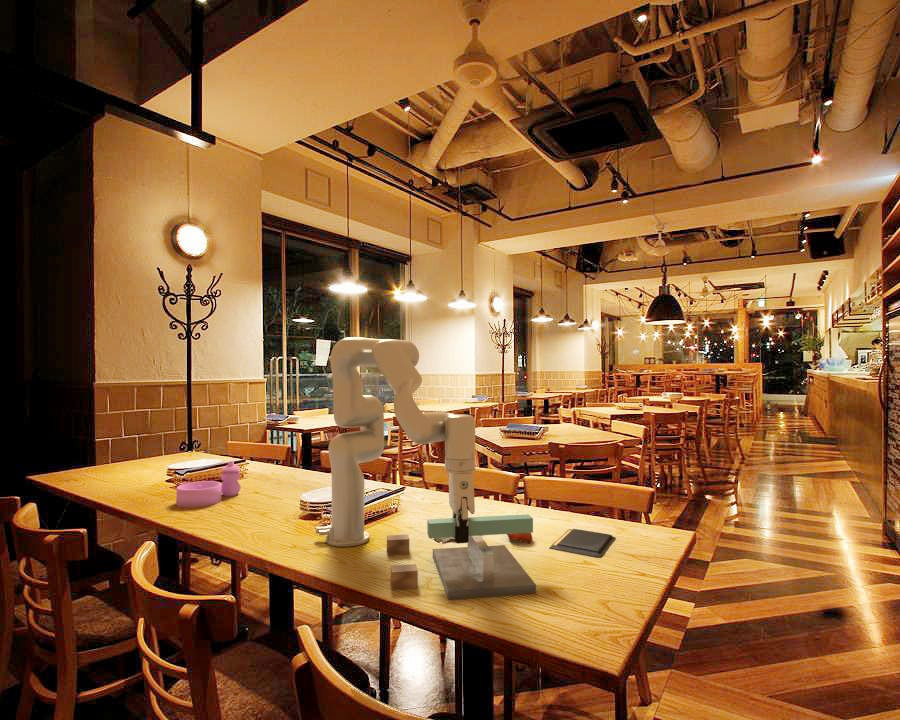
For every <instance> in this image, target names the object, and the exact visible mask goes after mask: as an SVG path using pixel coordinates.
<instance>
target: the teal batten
mask: <svg viewBox="0 0 900 720" xmlns="http://www.w3.org/2000/svg"><path fill="white" fill-rule="evenodd" d="M459 519H460V518H459ZM426 520H427V521H426V523H427V524H426V526H427V527H426V528H427V532H426V533H427V536H428V539H432V538H444V537H455V526H457V525H456V518H452V517H451V518H450V517H448V518H447V517H446V518H429V519H426ZM468 526H469V536H480V535H481V536H493V535H495V536H497V535H507V534H515V533H531V534H532V533H534V518H533V517H532V516H531V515H530V514H509V515H507V514H506V515H495V516H494V515H491V516H490V515H487V516H486V515H485V516H472V517H471V516H470V517H469V516H468Z"/></svg>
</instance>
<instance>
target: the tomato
mask: <svg viewBox="0 0 900 720" xmlns="http://www.w3.org/2000/svg"><path fill="white" fill-rule="evenodd" d="M506 535H507V538H508V537H509V538H508V540H509V541H510V540H515V541H519V542H520V541H521V542H525V543H527V544H531V543H532V541H533V535H532V533H515V534H506Z"/></svg>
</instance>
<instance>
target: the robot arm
mask: <svg viewBox="0 0 900 720" xmlns="http://www.w3.org/2000/svg"><path fill="white" fill-rule="evenodd" d="M419 360H420V353H419V350H418V347H417V346H416V344H414V343H413V342H411V341H410V340H404V339H390V338H387V339H383V338H382V339H381V338H371V337H370V338H369V337H368V338H367V337H357V336H354V337H352V336H351V337H345V338H341V339H339V340H338V341H337V342H336V343H335V344H334V346H333V347H332V350H331V352H330V359H329V361H330V369H331V374H332V375H331V376H332V381H333V382H332V383H333V384H332V387H333V390H332V391H333V396H332V397H333V403H332V404H333V419H334V422H335V425H336V426H338V428H339V427H340V428H343V429H344V428H345V429H348V428H349V429H350V428H359V429H360V430H358V431H357V430H356V431H350V432H342V433H340V434H336V435H335V436H334V437H333V438H332V439H331V440H330V442H329V444H328V457H329V462H330V468H331V469H330V471H331V522H330V525H327V526H316V528H315V534H316V535H319V536H326V537H325V542H326V544H328V545H330V546H333V547H339V548H340V547H341V548H344V547H345V548H346V547H347V548H348V547H354V546H360V545H362V544H365V543H367V542H368V541H369V540H370V533H369V532H368V531H365V476H364V473H363V472H362V469H361V467H360V465H359V464H361V463H362V464H363V463H366V462H367V463H368V462H372V461H376V460H377V459H379V458H380V457H381V456H382V454H383V452H384V448H385V414H384V413H385V412H384V408H383V407H384V406H383V404H382V402H381V401H380V399H379V398H378V397H376V396H375V395H370V394H365V395H364V394H363V380H362V377H361V375H360V373H359V371H358V369H357V367H368V368H369V367H371V368H373V367H374V368H377V369H378V371H380V373H381V374H382V376H383V378H384V380H385V381H386V382H387V384H388V386H389V387H390V388H391V390H392V392H393V394H394V397H393V410H394V415H395V418H396V421H397V423H398V424H399V426H400V427H401V429H402V430H403V432H404V434H405V435H406V436H407V438H409V440H411V441H412V442H413V443H415V444H418V445H427V444H432V443H439V442H444V471H445V473H448V503H449V507H450V508H451V510H452V517H451V518H456V525H457V526H455V537H453V538H455V539H454V542H455V543H456V544H468V542H469V526H468V517H469V513H471V515H474V514H475V512H476V508H475V507H476V506H475V505H476V504H475V486H474V475H473V473H475V472H476V420H475V417H474V416H473V415H472V414H471V415H470V414H463V413H461V414H460V413H459V414H457V413H455V414H454V413H451V412H445V411H440V412H439V411H436V412H424V413H423V412H422V410H421V409H420V407H419V406H418V405H417V404H416V402H415V399H414V396H413V394H414V393H415V392H417V390H419V388H420V387H421V385H422V383H423V382H422V381H423V378H422V375H421V374H420V373H419V371H418V369H417V368H416V366H417V365H418V363H419ZM459 518H460V519H459Z"/></svg>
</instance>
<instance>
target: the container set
mask: <svg viewBox="0 0 900 720" xmlns="http://www.w3.org/2000/svg"><path fill="white" fill-rule="evenodd" d="M240 470H241V468H240V466H239V465H237V464H235V462H234V461H228V462H227V465H225V466H223V467H222V468H221V472H222V473H221V474H220V479H221V481H222V482H223V483H222V482H220V481H213V480H211V481H210V480H204V481H203V480H202V481H193V482H187V483H183V484H179V485H178V486H176V493H175V494H176V495H175V496H176V499H175V502H176V504H175V505H176V506H177V507H179V508H189V509H190V508H191V509H192V508H201V507H207V506H213V505H215V504H218V503H220V502H221V501H222V495H223V496H224V497H230V496H231V497H233V496H236V495H238V494H239V492H240V491H241V487H242V486H241V484H240V483H239V480H240V478H241V473H240Z"/></svg>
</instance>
